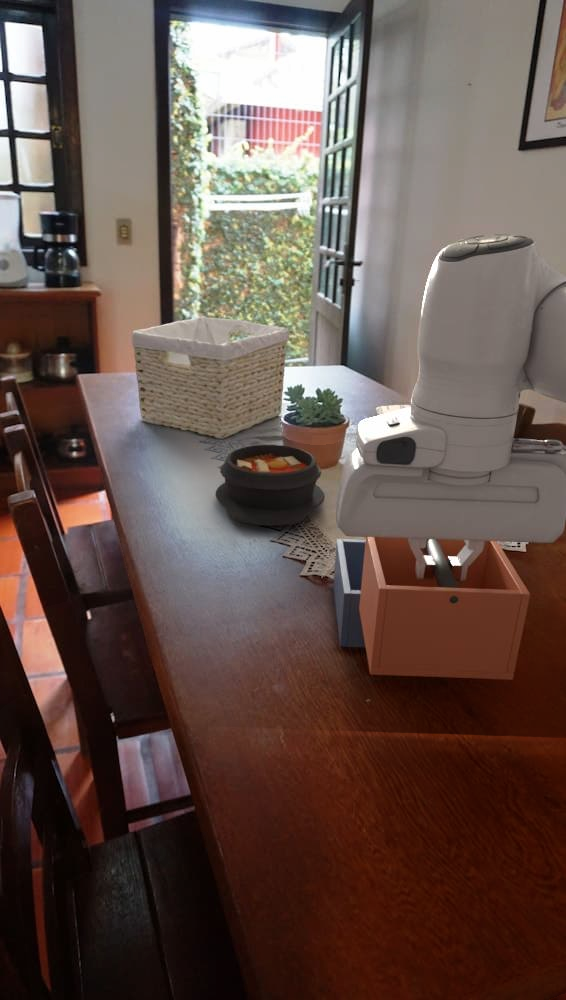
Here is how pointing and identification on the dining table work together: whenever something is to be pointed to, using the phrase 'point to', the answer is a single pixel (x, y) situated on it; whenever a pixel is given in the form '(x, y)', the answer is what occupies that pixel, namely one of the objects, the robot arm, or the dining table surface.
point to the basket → (210, 374)
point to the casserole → (270, 485)
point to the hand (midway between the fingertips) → (439, 577)
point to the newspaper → (390, 409)
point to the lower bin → (349, 590)
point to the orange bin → (441, 612)
